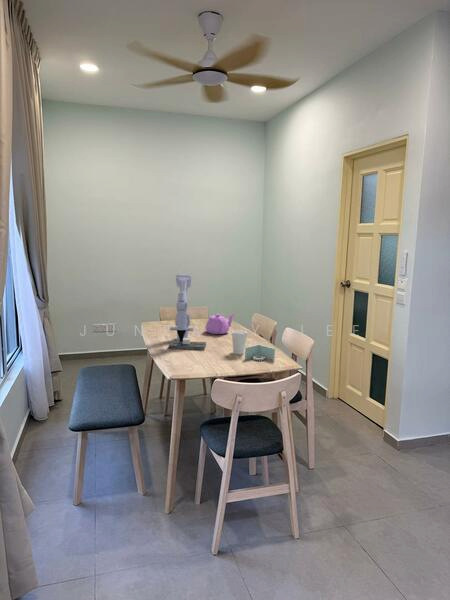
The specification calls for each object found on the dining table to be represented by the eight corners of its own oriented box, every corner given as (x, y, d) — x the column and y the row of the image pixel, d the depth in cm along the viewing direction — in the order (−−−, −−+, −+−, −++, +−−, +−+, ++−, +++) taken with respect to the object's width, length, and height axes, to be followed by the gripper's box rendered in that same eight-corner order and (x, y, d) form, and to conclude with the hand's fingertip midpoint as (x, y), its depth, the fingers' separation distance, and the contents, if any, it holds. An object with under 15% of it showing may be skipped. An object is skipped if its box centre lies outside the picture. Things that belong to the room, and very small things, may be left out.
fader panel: (172, 343, 264) (172, 340, 264) (206, 345, 264) (206, 342, 263) (168, 348, 253) (168, 345, 252) (204, 350, 252) (204, 346, 252)
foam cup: (232, 354, 244) (233, 333, 242) (229, 350, 253) (230, 330, 251) (247, 354, 246) (248, 333, 244) (244, 350, 255) (245, 329, 253)
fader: (183, 342, 260) (183, 337, 260) (190, 342, 260) (190, 338, 260) (182, 344, 255) (182, 339, 255) (189, 344, 255) (189, 339, 255)
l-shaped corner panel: (244, 360, 236) (245, 347, 235) (258, 356, 245) (259, 344, 243) (260, 365, 228) (261, 352, 227) (274, 361, 236) (275, 348, 235)
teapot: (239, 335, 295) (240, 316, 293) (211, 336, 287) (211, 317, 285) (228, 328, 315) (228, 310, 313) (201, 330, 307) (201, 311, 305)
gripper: (169, 321, 252) (168, 343, 254) (192, 322, 252) (191, 344, 254) (171, 319, 259) (170, 340, 261) (193, 320, 259) (193, 341, 261)
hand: (181, 341), depth 258 cm, fingers closed
